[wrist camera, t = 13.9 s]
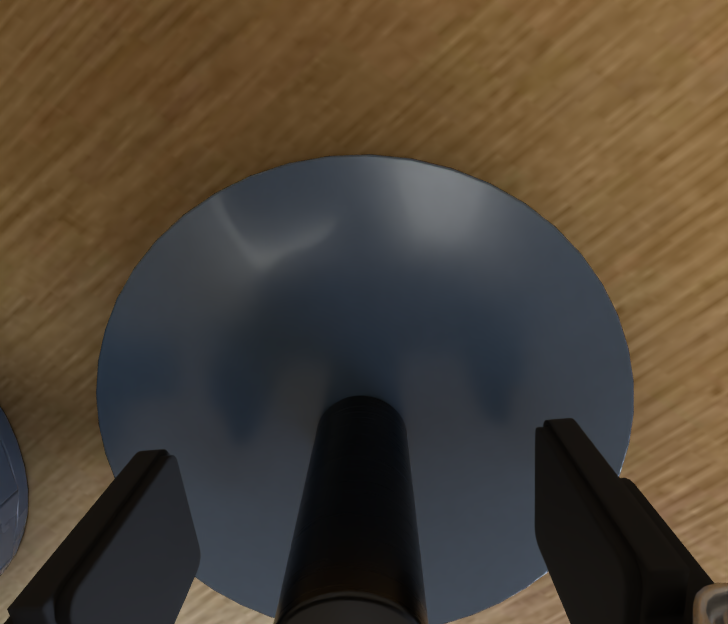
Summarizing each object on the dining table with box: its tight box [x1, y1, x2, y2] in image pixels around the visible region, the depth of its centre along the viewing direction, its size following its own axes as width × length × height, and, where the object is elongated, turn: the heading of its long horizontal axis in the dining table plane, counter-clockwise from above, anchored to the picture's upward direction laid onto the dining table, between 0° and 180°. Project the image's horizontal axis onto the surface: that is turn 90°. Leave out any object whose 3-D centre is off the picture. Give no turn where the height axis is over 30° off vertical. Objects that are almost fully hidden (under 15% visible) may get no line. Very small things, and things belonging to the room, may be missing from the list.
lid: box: [96, 154, 634, 624], centre depth 10 cm, size 14×14×7 cm
